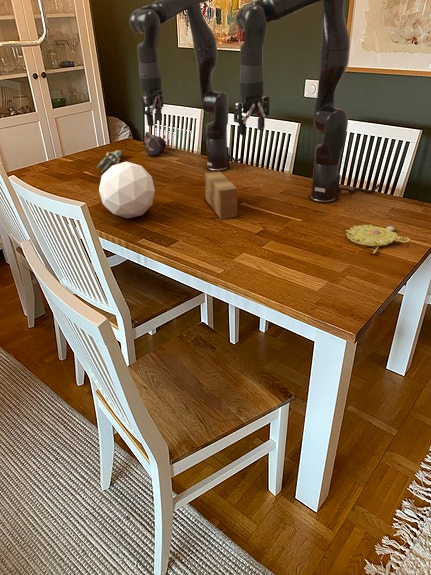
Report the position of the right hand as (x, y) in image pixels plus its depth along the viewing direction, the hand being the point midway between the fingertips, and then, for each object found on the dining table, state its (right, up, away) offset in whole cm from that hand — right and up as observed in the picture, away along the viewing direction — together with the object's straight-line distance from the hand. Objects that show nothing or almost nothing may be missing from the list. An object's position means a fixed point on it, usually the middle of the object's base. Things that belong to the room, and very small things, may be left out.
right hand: (252, 132), depth 148 cm
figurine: (-63, +7, +66) cm, 92 cm away
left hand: (-35, +10, +18) cm, 41 cm away
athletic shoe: (-43, +19, +84) cm, 96 cm away
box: (-10, -22, +18) cm, 30 cm away
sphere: (-43, -25, +14) cm, 52 cm away
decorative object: (+39, -37, -8) cm, 54 cm away
